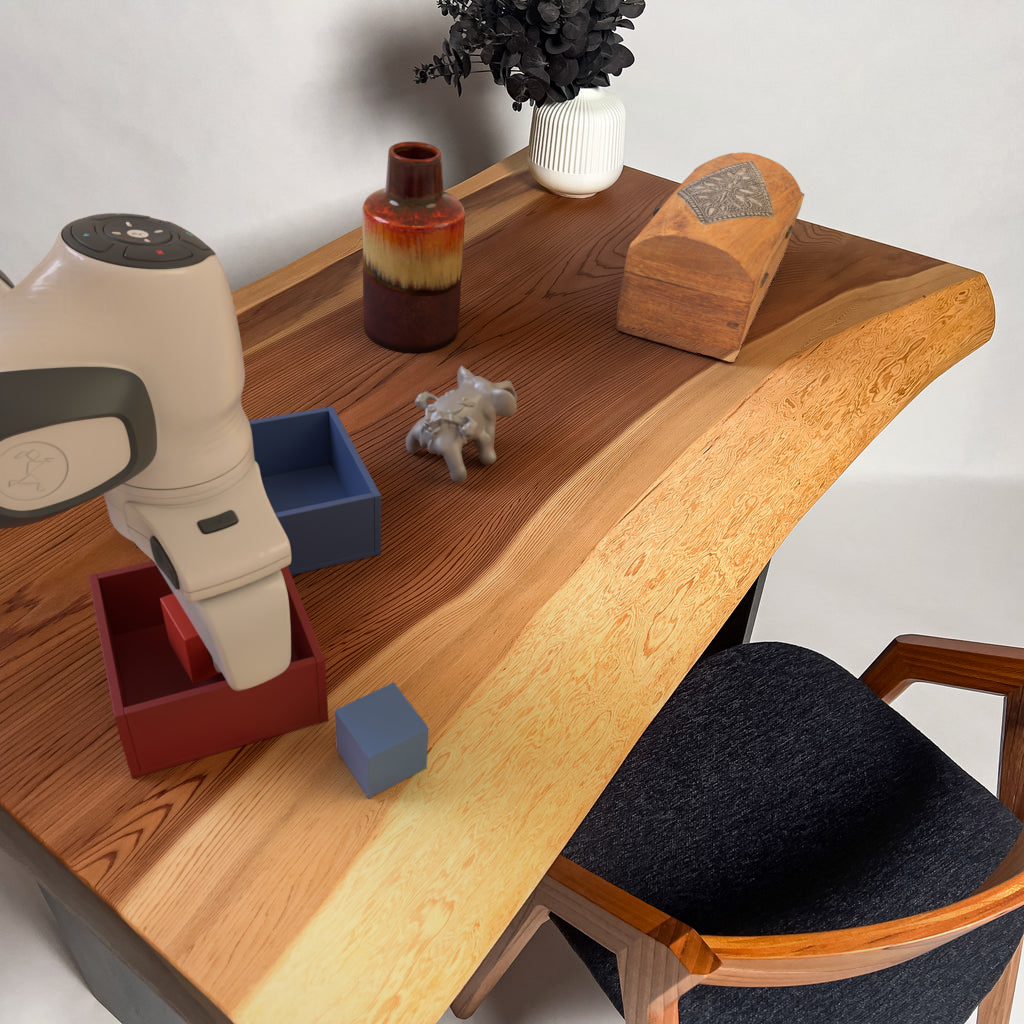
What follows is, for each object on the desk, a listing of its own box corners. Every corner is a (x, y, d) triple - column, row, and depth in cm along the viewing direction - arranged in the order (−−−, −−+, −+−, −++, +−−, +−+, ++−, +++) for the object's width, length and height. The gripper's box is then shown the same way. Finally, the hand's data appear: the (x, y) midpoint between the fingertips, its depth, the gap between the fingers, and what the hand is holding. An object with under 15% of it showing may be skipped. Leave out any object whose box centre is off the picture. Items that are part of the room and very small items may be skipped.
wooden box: (671, 237, 136) (692, 138, 127) (786, 267, 131) (816, 167, 122) (599, 328, 114) (618, 216, 105) (734, 367, 110) (766, 254, 101)
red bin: (132, 779, 63) (114, 717, 59) (105, 637, 72) (88, 574, 68) (328, 720, 68) (325, 659, 64) (280, 594, 77) (275, 533, 72)
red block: (193, 684, 66) (184, 640, 63) (169, 642, 68) (159, 597, 65) (255, 658, 68) (249, 614, 65) (229, 618, 70) (222, 574, 68)
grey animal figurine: (391, 466, 90) (392, 397, 85) (449, 404, 99) (453, 339, 94) (480, 498, 88) (486, 429, 83) (531, 432, 97) (540, 367, 92)
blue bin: (222, 591, 76) (213, 530, 72) (190, 491, 85) (180, 432, 81) (381, 554, 81) (381, 495, 77) (335, 463, 90) (333, 405, 86)
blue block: (368, 799, 63) (368, 758, 60) (336, 750, 66) (334, 709, 63) (426, 768, 66) (429, 727, 63) (393, 722, 68) (393, 681, 65)
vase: (464, 312, 114) (475, 138, 101) (451, 358, 106) (461, 177, 93) (374, 300, 114) (373, 126, 101) (354, 346, 106) (350, 163, 93)
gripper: (73, 408, 63) (112, 562, 71) (195, 604, 51) (224, 759, 60) (168, 383, 66) (195, 533, 75) (305, 562, 54) (316, 715, 63)
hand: (208, 635), depth 67 cm, fingers closed on red block, 4 cm apart
